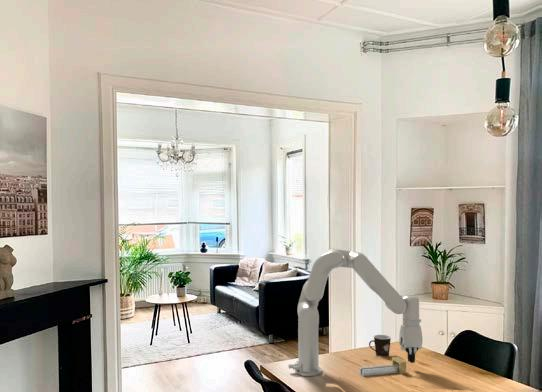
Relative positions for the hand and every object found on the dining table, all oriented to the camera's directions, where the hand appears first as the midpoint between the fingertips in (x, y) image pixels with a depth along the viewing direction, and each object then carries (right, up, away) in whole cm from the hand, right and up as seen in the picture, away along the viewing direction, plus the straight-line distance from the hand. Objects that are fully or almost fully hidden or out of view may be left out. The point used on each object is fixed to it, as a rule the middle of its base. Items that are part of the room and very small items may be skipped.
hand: (411, 361), depth 198 cm
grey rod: (-15, -3, -3) cm, 16 cm away
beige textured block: (-6, -4, -2) cm, 8 cm away
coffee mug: (-9, -6, +23) cm, 25 cm away
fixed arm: (-15, -3, -5) cm, 16 cm away
